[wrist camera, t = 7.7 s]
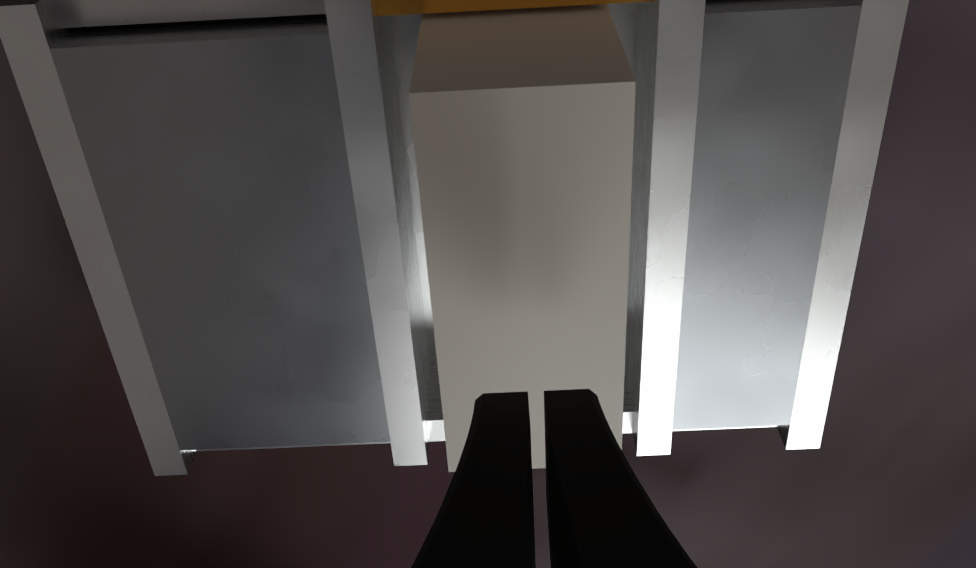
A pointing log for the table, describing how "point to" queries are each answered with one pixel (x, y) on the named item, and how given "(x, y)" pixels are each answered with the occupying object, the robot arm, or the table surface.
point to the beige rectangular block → (525, 206)
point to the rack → (398, 220)
